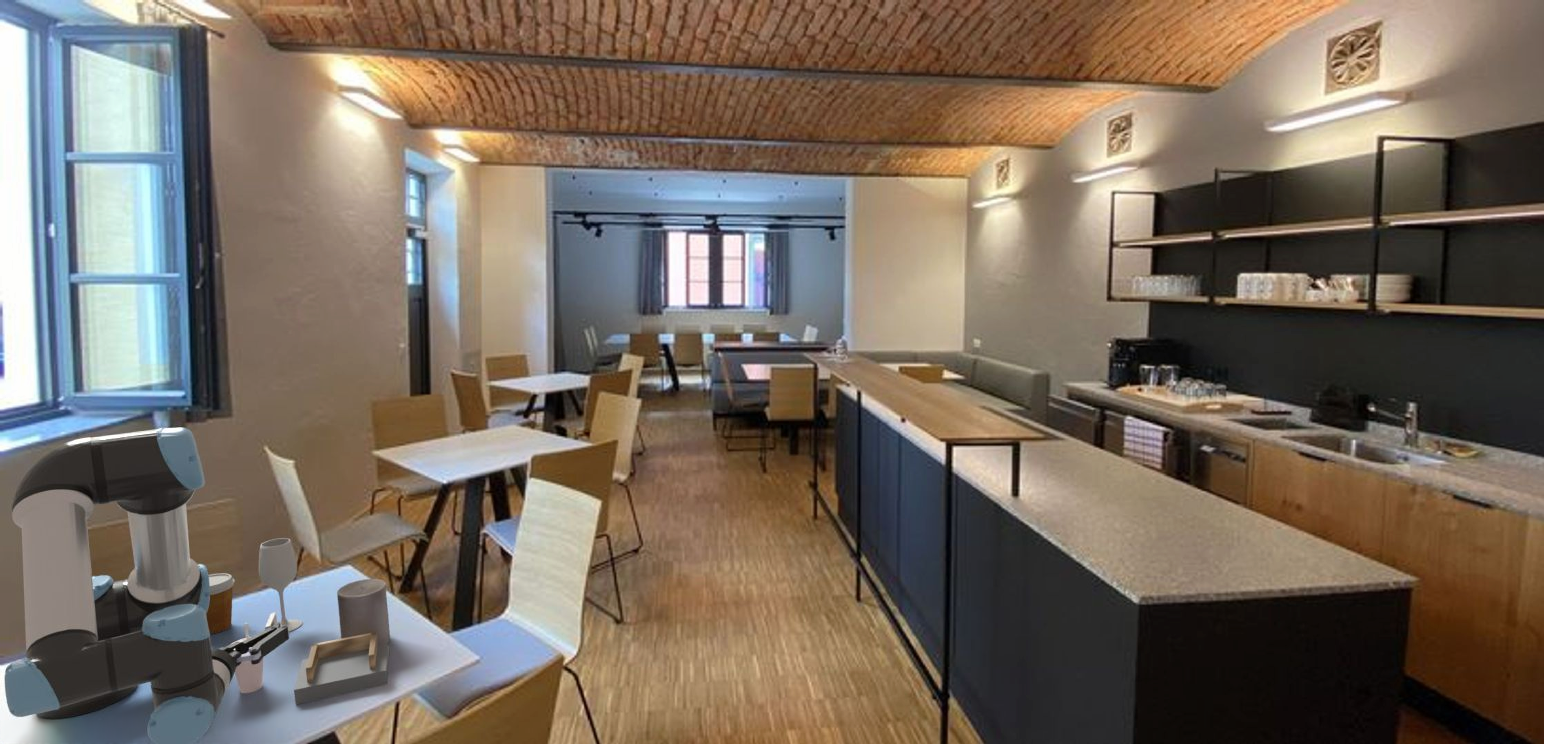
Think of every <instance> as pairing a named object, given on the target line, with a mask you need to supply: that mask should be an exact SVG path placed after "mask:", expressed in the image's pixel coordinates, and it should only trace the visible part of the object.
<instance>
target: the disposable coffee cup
mask: <svg viewBox="0 0 1544 744" xmlns="http://www.w3.org/2000/svg"><path fill="white" fill-rule="evenodd" d="M208 575H209V583H210V592H209V594H210V602H209V608H208V611H207V613H206V618H207V623H208V628H209V632H210V635H212V634H218V633H221V632H223V631H225V630H226V631H227V630H228V629H229V628H231V626H232V616H233V613H232V611H233V590H234V589H233V588H234V587H233V586H234V584H235V582H236V581H235V579H234V578H233V576H232V574H229V573H224V572H223V573H212V574H208Z"/></svg>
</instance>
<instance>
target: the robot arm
mask: <svg viewBox="0 0 1544 744" xmlns="http://www.w3.org/2000/svg"><path fill="white" fill-rule="evenodd" d="M201 461H202V460H201V458H200V454H199V450H198V446H197V442H196V439H195V436H194V433H193V432H192V430H190V429H189V428H186V427H160V428H156V429H149V430H148V429H147V430H140V431H133V432H132V431H131V432H125V433H116V434H115V433H114V434H109V435H100V436H94V437H93V436H92V437H91V436H89V437H81V438H77V439H72V440H69V441H67V442H65V443H62V444H60V445H58V446H56V447H54V448H52V449H50V450H49V451H47V452H46V453H44V455H42V456H40V457H39V458H38V460H36V461H35V462H34V463H33V464H32V465H30V467H29V468H28V470H26V472H25V473H24V475H23V476H22V478H21V479H20V480H19V482H18V485H17V486H16V489H15V490H14V493H13V497H12V502H11V518H12V521H13V522H14V524H15V525H16V526H18V527H19V528H21V543H22V547H21V548H22V549H21V550H22V569H23V570H22V571H23V573H22V574H23V598H24V599H23V601H24V626H25V627H24V628H25V631H24V632H25V651H26V656H25V658H22V659H21V660H18V661H15V662H12V663H10V664H9V665H8V664H7V666H6V668H5V670H4V671H5V672H4V673H5V674H4V693H5V697H6V698H5V699H6V700H5V701H6V703H7V708H8V711H9V713H10V714H11V715H12V716H13V717H16V718H23V717H24V718H25V717H29V716H34V715H37V716H39V717H40V718H44V719H64V718H70V717H71V718H72V717H76V716H80V715H84V714H88V713H92V712H94V711H97V710H101V709H103V708H107V706H110V705H112V704H115V703H117V702H119V701H121V700H122V699H124V698H125V697H127V696H128V695H130V694H131V693H133V691H135V690H136V689H137V687H138V686H139V685H143V684H146V683H150V687H151V688H150V690H151V694H152V701H153V711H152V712H151V714H150V717H149V719H148V723H147V728H146V729H147V730H146V731H147V736H148V738H149V739H150V741H151V742H152V743H153V744H195V743H196V742H198V741H199V740H200V739H202V737H203V736H204V735H205V734H206V732H207V731H208V730H209V728H210V727H211V725H212V724H213V722H214V721H215V719H216V714H217V711H218V710H219V707H220V705H221V703H222V701H223V698H224V696H225V694H226V692H227V690H228V688H229V686H230V684H231V681H232V680H233V677H234V675H235V670H236V667H237V666H239V665H240V664H241V663H242V662H244V661H251V663H252V664H253V665H254V664H258V663H259V662H260V661H261V660H262V658H263V659H264V657H266V656H267V655H269V654H270V653H271V652H273V651H274V650H276V649H277V648H279V647H280V646H281V645H283V644H284V643H285V642H286V641H288V640H289V639H290V634H289V633H290V632H288V626H287V625H285V626H281V627H280V622H281V621H277V613H276V612H272V613H270V615H269V617H268V620H267V621H266V624H265V626H264V630H262V631H260V632H258V633H256V634H254V635H252V636H249V637H250V638H248V639H246V640H244V641H242V642H235V641H234V643H233V642H232V643H230V644H229V645H226V646H222V647H219V648H213V647H212V645H211V634H210V632H209V628H208V623H207V618H206V613H207V611H208V608H209V602H210V594H209V592H210V583H209V575H210V574H209V572H208V568H207V566H206V565H205V564H203V563H197V562H196V561H195V560H194V559H193V558H191V557H190V556H191V555H190V545H189V544H190V543H189V528H188V527H189V526H188V525H189V524H188V515H187V514H188V512H187V503H188V502H189V501H190V500H191V499H193V498H192V497H193V495H194V493H195V491H196V490H198V489H200V488H201V489H202V488H203V487H204V486H205V485H206V480H205V479H206V478H205V474H204V470H203V465H202V462H201ZM112 503H115V504H116V505H117V506H118V508H120V509H121V510H123V511H125V512H126V513H127V518H128V526H129V533H130V540H131V548H132V555H133V562H134V569H133V570H132V571H131V572H130V574H129V576H128V578H126V579H122V580H117V581H116V580H115V581H114V579H113V578H112V576H110V575H105V574H100V575H92V574H93V573H92V572H93V571H92V561H91V560H92V559H91V552H90V541H89V531H88V530H89V529H88V519H89V517H91V516H92V514H93V512H94V509H95V507H94V506H96V505H105V504H112ZM233 649H235V650H233Z"/></svg>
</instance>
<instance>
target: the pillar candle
mask: <svg viewBox="0 0 1544 744" xmlns="http://www.w3.org/2000/svg"><path fill="white" fill-rule="evenodd" d="M386 587H387V582H385V581H384V580H383V579H379V578H378V579H377V578H367V579H360V580H356V581H353V582H349V583H346V584H344V585H343V586H341V587H340V588H339V589H337V591H336V594H337V604H338V605H337V606H338V616H339V625H340V626H339V628H340V629H339V630H340V639H342V638H347V637H352V636H357V635H363V634H368V633H373V632H376V633H377V643H378V645H380V644H385V643H388V644H389V643H390V641H391V633H390V621H389V619H390V618H389V610H388V600H387V599H388V598H387V588H386Z"/></svg>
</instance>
